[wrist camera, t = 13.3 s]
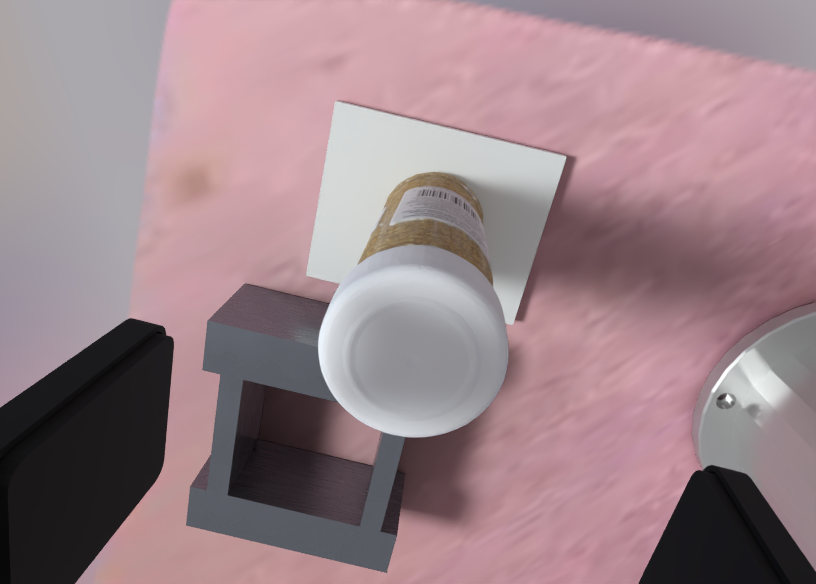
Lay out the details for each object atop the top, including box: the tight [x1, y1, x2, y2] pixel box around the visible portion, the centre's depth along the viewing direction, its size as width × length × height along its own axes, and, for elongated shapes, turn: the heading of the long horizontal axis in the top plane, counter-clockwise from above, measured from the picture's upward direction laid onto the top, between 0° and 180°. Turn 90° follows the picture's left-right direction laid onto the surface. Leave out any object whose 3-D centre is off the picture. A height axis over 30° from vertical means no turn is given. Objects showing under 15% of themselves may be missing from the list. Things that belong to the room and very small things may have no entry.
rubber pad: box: [306, 101, 567, 325], centre depth 26 cm, size 10×8×1 cm
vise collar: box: [186, 284, 405, 573], centre depth 28 cm, size 10×11×4 cm
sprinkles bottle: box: [318, 172, 509, 437], centre depth 20 cm, size 5×5×14 cm
